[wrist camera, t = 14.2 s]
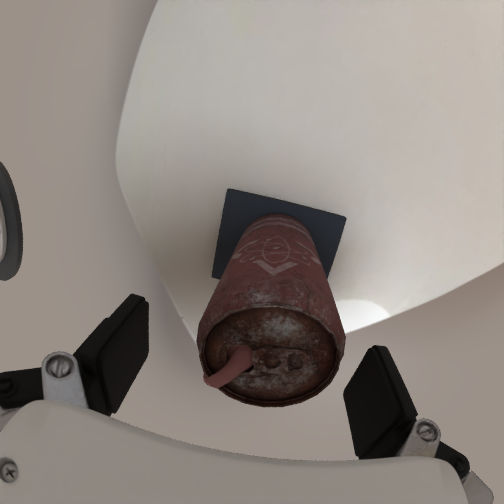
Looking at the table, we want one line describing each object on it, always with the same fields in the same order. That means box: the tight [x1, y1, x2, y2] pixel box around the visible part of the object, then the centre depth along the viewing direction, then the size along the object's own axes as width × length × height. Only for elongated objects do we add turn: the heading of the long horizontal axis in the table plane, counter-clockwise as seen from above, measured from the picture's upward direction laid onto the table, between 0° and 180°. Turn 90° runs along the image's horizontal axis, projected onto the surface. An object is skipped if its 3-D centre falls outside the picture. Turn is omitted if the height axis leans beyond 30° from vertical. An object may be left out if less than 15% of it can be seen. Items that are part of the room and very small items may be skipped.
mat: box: [211, 189, 346, 279], centre depth 23 cm, size 10×8×1 cm
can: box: [196, 213, 346, 407], centre depth 16 cm, size 6×6×14 cm
